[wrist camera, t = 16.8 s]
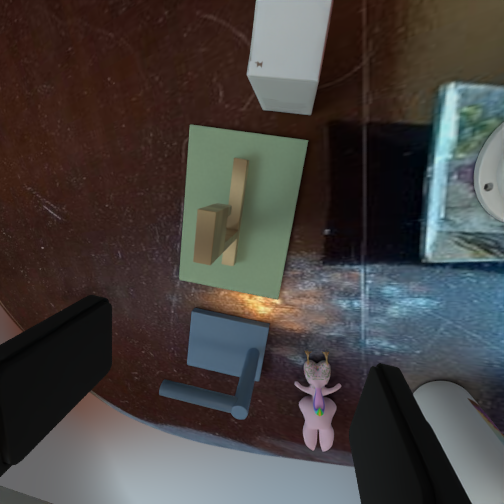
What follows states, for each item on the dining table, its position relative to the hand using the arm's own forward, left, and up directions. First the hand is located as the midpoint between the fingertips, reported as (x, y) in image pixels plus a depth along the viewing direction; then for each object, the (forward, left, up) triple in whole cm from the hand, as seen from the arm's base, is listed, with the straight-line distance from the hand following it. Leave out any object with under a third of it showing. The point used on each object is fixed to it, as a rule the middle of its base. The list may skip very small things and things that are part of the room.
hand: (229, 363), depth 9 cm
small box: (-17, -1, -26) cm, 31 cm away
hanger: (-1, -5, -25) cm, 26 cm away
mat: (-1, -5, -26) cm, 26 cm away
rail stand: (+18, -4, -26) cm, 31 cm away
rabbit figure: (+23, +10, -26) cm, 36 cm away
